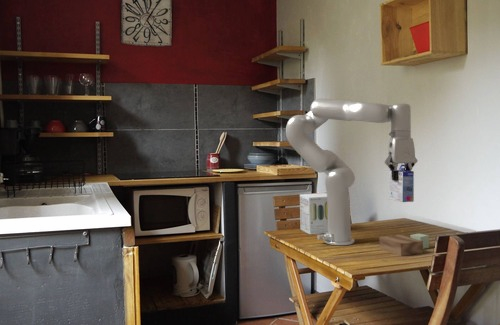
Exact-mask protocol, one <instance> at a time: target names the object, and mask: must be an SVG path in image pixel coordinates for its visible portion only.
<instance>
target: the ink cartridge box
mask: <svg viewBox="0 0 500 325" xmlns="http://www.w3.org/2000/svg"><path fill="white" fill-rule="evenodd" d="M406 166H407V165H405V164H404V163H401V165H400V166H399V168H398V169H397V171H398V181H393V180H392V170H390V169H389V171H388V200H391V201H396V202H401V203H413V202H414V201H415V200H414V198H415V197H414V195H415V194H414V186H415V184H414V183H415V182H414V176H415V175H414V174H415V173H414V170H411V171H405V170H406Z"/></svg>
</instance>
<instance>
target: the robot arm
mask: <svg viewBox="0 0 500 325" xmlns="http://www.w3.org/2000/svg"><path fill="white" fill-rule="evenodd" d="M411 109H412V108H411V106H410V104H408V103H395V104H384V103H375V102H360V101H353V100H349V99H348V100H347V99H333V98H323V97H322V98H316V99H315V100H313V101H312V102H311V104H310V110H309V111H308V112H307V113H305V114H297V115H292V116H291V117H290V118H289V119H288V121H287V124H286V126H285V136H286V139H287V141H288V143H289V145H290V146H291V147H292V149H294V150H295V151H296V153H297V154H298V155H300V157H301V158H302V159H303V160H304V161H305V162H306V163H307V164H308V165H309V166H310V167H311V168H312V170H314V171H315V172H317V173H325V175H326V176H325V183H324V184H325V191H326V192H325V193H327V209H328V232H326V233H323V234H316V237H317V240H324V244H328V245H329V246H330V245H331V246H348V245H353V244H355V238H353V237H351V236H352V233H351V232H352V231H351V197H350V191H349V188H350V187H352V185H353V184H354V182H355V179H356V177H355V173H354V171H353V170H352V169H351V168H350V167H349V166H348V165H347V164H346V163H345V162H344V161H343V160H342V159H341V158H340V157H339V156H338V155H337V154H336V153H335V152H334V151H332V150H328V149H322V148H321V146H319V145H318V144H317V142H315V141H314V140H313V139H312V138H311V137H310V136H308V135H309V134H311V133H313V132H315V131H317V129H318V128H320V127H321V126H323V125H324V124H325V123H326V122H327V121H329V120H335V121H337V120H338V121H345V122H346V121H347V122H352V121H353V122H354V121H356V122H367V123H377V124H385V123H389V122H390V131H389V133H388V135H389V136H390V139H389V143H388V152H387V158H386V159H385V160H384V164H385V165H386V166H387V168H389V170H392V180H393V181H398V171H397V170H398V166H399V164H403V165H407V166H406V168H405V171H413V168H414V166H415V165H416V164H417V163H418V161H419V160H418V159H417V158H416V150H415V143H414V139H413V137H412V135H411V132H412V129H411V128H412V127H411V126H412V125H411V124H412V123H411Z"/></svg>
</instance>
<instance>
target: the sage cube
mask: <svg viewBox="0 0 500 325" xmlns="http://www.w3.org/2000/svg"><path fill="white" fill-rule="evenodd" d="M409 236H410V238H414V239H417V240H421V241H423V250H425V249H429V248H430V235H429V234H423V233H415V234H410V235H409Z"/></svg>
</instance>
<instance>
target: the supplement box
mask: <svg viewBox="0 0 500 325" xmlns="http://www.w3.org/2000/svg"><path fill="white" fill-rule="evenodd" d="M299 214H300V215H299V221H300V226H299V227H300V230H301V231H302V232H304V233H306V234H308V235H323V234H326V232H328V209H327V192H319V193H318V192H317V193H304V194H301V193H300V194H299Z"/></svg>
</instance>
